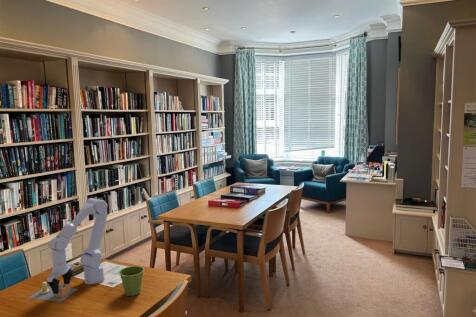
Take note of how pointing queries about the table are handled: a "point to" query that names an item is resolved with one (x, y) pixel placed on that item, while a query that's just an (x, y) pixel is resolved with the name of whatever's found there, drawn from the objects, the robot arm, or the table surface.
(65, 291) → the collar
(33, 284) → the table surface
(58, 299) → the board
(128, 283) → the plant pot
